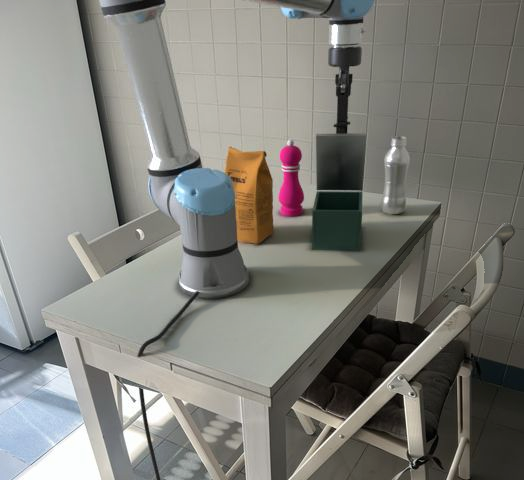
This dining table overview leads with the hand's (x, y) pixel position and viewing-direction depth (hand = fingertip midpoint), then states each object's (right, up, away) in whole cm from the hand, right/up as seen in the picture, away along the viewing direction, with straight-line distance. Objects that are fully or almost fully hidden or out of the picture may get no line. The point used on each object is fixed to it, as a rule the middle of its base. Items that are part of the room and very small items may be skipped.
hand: (340, 153), depth 133 cm
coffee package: (-23, -20, +6) cm, 31 cm away
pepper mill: (-11, -10, +19) cm, 24 cm away
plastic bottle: (+17, -11, +15) cm, 25 cm away
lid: (-1, -4, -4) cm, 6 cm away
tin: (-1, -21, +2) cm, 21 cm away
